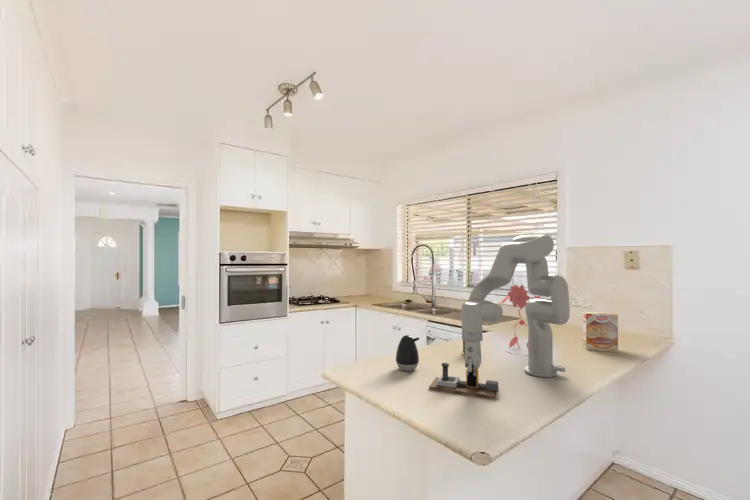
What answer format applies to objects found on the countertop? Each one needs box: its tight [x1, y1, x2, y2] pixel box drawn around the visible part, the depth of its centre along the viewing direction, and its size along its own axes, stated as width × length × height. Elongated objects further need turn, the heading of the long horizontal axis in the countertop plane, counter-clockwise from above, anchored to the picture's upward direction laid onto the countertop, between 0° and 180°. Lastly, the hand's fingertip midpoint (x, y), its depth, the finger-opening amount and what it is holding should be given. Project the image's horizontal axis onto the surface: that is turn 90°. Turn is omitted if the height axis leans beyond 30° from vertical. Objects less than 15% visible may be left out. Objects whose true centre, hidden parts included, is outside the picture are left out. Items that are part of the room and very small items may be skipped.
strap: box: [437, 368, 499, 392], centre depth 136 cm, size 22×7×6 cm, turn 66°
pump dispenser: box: [395, 334, 420, 372], centre depth 160 cm, size 10×10×15 cm
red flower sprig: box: [500, 284, 542, 357], centre depth 190 cm, size 15×26×35 cm, turn 32°
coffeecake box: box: [582, 311, 619, 353], centre depth 192 cm, size 15×7×20 cm, turn 73°
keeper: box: [428, 362, 499, 401], centre depth 136 cm, size 24×11×9 cm, turn 66°
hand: (472, 384), depth 135 cm, fingers closed on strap, 2 cm apart
